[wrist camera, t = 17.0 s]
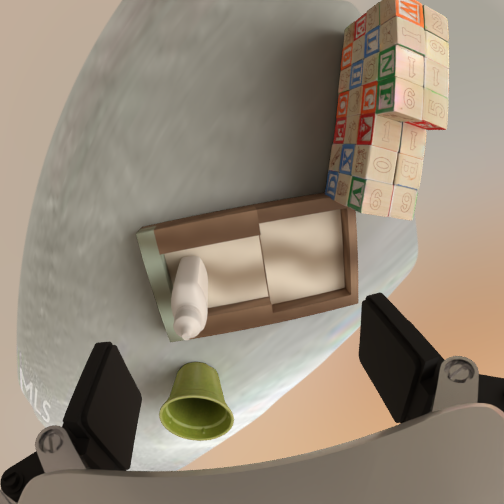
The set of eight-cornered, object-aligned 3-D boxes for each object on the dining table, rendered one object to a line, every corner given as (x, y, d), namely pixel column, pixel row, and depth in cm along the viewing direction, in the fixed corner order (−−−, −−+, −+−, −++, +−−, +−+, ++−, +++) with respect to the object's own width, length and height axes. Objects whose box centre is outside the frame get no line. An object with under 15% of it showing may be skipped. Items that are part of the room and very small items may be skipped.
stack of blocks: (369, 203, 35) (431, 231, 23) (323, 196, 34) (374, 222, 23) (388, 43, 28) (449, 17, 17) (343, 27, 27) (395, -12, 16)
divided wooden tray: (141, 227, 34) (136, 234, 31) (343, 189, 35) (354, 193, 32) (172, 329, 38) (170, 342, 36) (349, 292, 40) (358, 303, 37)
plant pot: (175, 400, 43) (171, 442, 35) (157, 355, 40) (149, 399, 31) (233, 394, 44) (238, 436, 35) (223, 348, 40) (227, 392, 32)
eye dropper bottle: (220, 263, 35) (224, 319, 24) (201, 303, 36) (198, 368, 25) (184, 249, 34) (172, 299, 23) (167, 290, 35) (151, 352, 24)
